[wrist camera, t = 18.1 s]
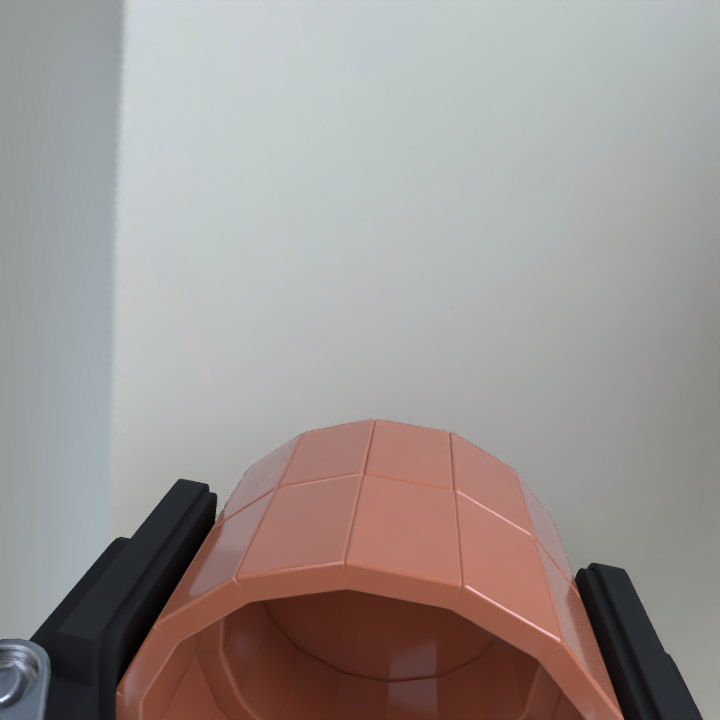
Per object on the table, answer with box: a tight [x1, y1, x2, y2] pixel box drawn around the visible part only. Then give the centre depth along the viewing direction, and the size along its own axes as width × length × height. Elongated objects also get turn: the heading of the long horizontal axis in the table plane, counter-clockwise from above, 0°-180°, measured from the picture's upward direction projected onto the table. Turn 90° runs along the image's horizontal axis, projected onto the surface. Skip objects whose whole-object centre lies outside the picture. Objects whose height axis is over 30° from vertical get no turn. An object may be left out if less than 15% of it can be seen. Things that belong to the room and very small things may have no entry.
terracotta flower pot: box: [115, 419, 624, 720], centre depth 10 cm, size 7×7×4 cm
